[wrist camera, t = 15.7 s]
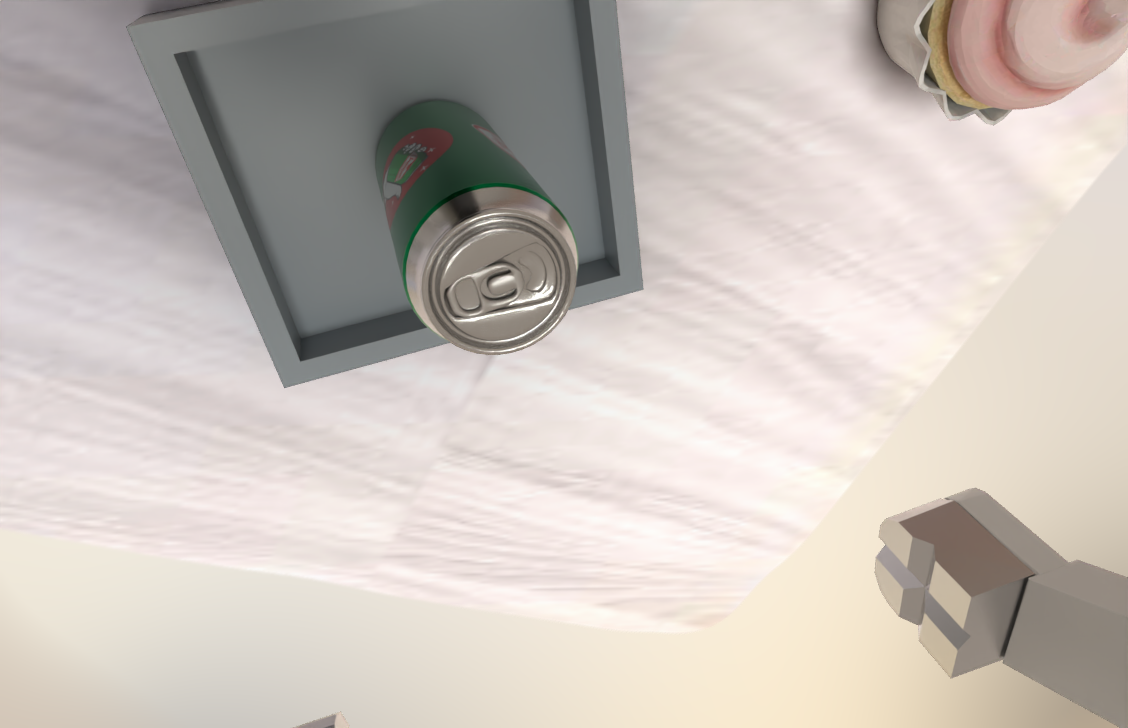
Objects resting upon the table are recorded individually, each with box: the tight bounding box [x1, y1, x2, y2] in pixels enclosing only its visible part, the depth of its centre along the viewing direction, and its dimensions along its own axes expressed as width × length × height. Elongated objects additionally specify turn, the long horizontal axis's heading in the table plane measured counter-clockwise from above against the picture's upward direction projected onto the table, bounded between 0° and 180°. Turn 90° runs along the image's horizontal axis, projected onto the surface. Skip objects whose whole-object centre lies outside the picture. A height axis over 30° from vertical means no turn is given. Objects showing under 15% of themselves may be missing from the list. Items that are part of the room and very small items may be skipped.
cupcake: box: [877, 0, 1128, 126], centre depth 29 cm, size 9×9×10 cm
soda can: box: [375, 101, 578, 355], centre depth 25 cm, size 5×5×12 cm
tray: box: [126, 0, 643, 388], centre depth 29 cm, size 16×14×3 cm
